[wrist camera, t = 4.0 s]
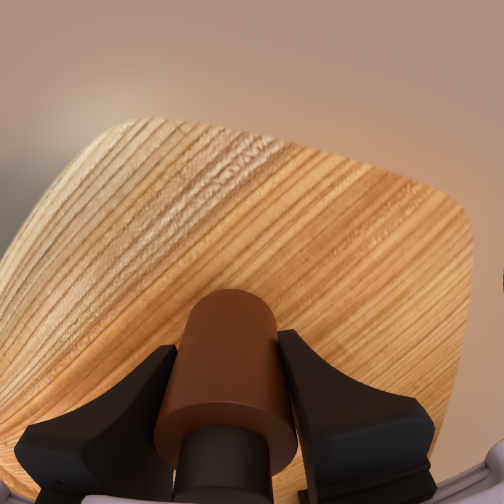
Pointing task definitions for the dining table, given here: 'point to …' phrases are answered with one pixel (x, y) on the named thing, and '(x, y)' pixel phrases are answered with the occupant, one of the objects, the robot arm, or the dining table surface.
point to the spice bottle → (227, 404)
